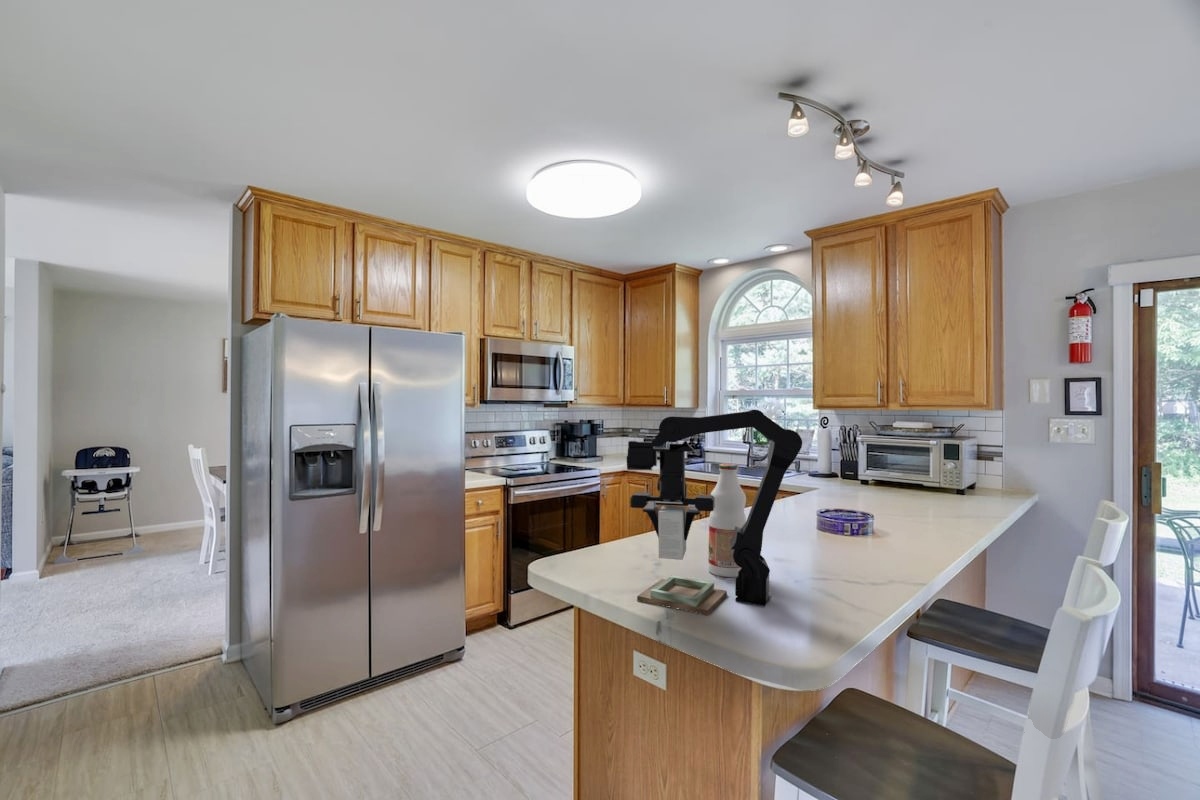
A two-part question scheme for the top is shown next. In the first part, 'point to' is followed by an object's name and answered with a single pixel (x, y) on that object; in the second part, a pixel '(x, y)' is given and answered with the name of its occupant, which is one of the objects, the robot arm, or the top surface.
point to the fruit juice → (725, 521)
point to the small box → (672, 532)
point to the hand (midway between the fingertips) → (672, 539)
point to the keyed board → (684, 594)
